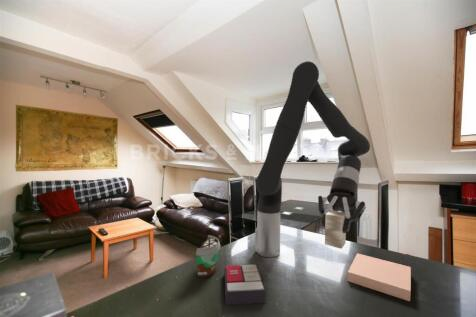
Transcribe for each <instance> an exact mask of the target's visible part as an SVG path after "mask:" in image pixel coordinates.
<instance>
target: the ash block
mask: <svg viewBox="0 0 476 317" xmlns="http://www.w3.org/2000/svg"><path fill="white" fill-rule="evenodd" d="M345 218H346V215H345V212H342V211H330V212H328V213H326V217H325V229H324V245H325V246H329V247H332V248H338V249H341V250H342V249H343V247H344V246H345V245H346V238H347V236H346V235H347V233H346V234H345V233H343V231H342V229H343V224H344V219H345Z"/></svg>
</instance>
